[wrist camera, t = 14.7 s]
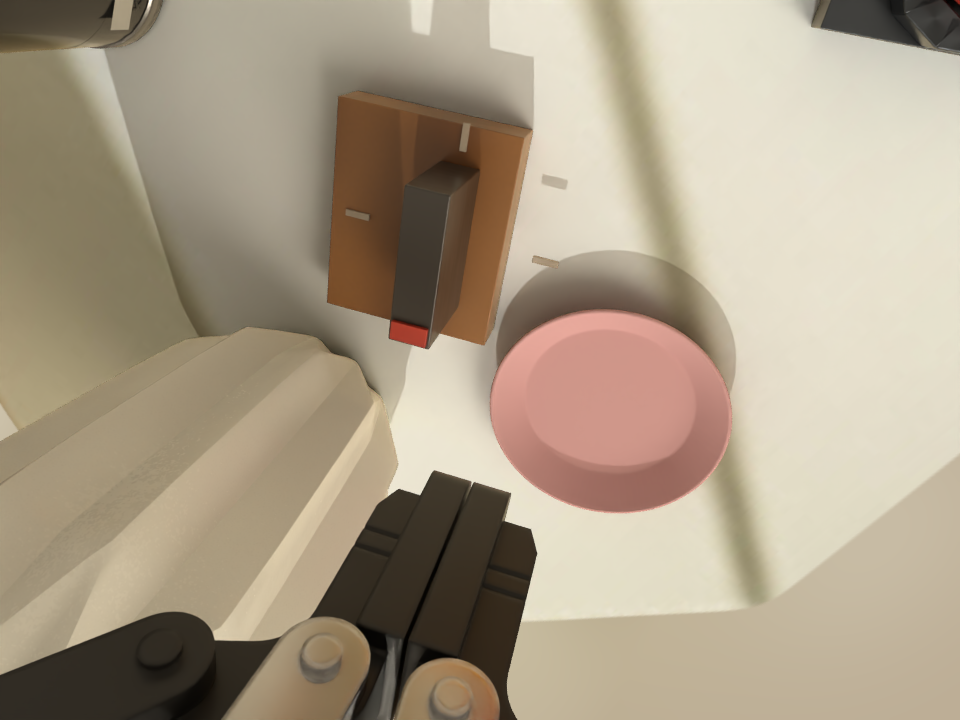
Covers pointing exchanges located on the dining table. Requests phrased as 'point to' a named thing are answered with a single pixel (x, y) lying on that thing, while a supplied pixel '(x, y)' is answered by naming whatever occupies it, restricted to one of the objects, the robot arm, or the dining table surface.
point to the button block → (895, 21)
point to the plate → (610, 411)
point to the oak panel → (379, 198)
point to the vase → (190, 493)
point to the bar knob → (432, 251)
